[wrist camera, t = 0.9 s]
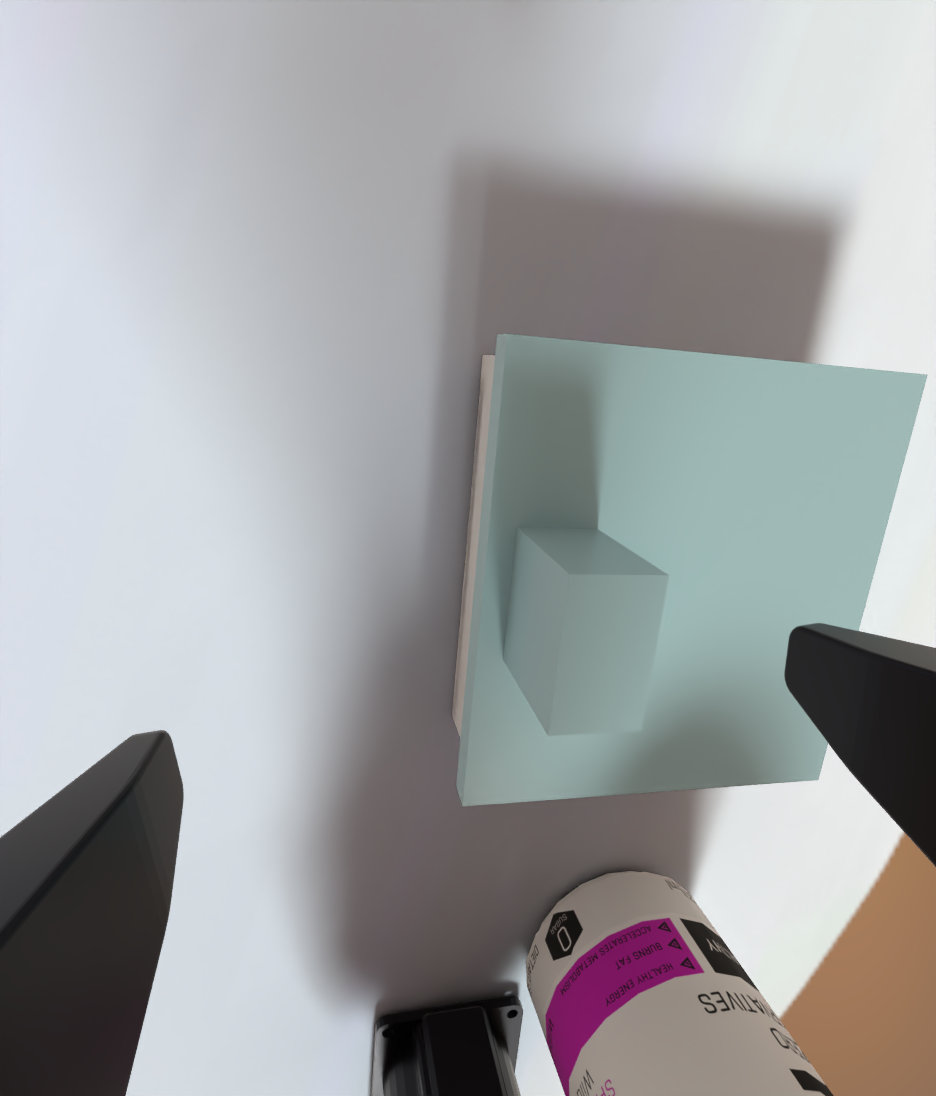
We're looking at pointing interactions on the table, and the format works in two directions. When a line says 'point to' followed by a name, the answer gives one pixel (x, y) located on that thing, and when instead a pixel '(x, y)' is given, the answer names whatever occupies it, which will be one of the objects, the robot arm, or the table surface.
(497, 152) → the table surface
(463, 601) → the white shallow square tray
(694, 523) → the lid
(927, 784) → the robot arm
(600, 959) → the supplement can
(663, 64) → the table surface
